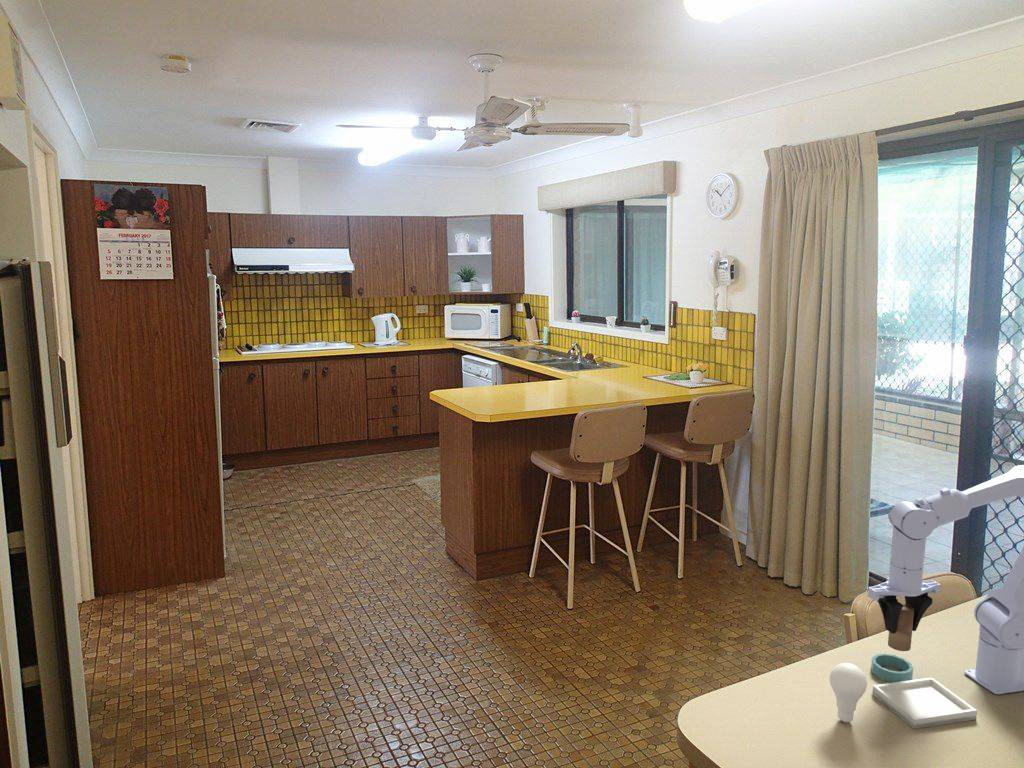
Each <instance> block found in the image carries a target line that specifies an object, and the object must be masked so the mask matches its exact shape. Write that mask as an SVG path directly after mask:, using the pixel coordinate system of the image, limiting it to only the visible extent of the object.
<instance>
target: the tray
mask: <svg viewBox="0 0 1024 768" xmlns="http://www.w3.org/2000/svg"><path fill="white" fill-rule="evenodd" d="M871 694H872V695H873V696H874V697H875V698H877V700H878V701H880V702H881V703H882V704H883V705H885V706H886V707H887V708H888V709H889V710H891V711H892V713H894V714H895V715H897V716H898V717H899V718H900V719H901V720H902V721H904V723H906V724H907V725H909V726H910V728H912V729H914V730H915V729H922V728H928V727H935V726H943V725H949V724H955V723H961V722H967V721H974V720H977V716H978V715H977V714H978V713H977V712H978V710H977V709H976V708H975V707H973V706H972V705H971V704H969V703H968V702H967V701H965V700H964V699H962V697H959V696H958V695H956V694H955V693H954V692H953V691H951V690H950V689H948V687H946V686H944V685H943V684H942V683H940V682H939V681H938V680H936V679H935V678H933V677H926V678H925V677H923V678H919V679H912V680H909V681H902V682H894V683H891V682H887V683H880V684H873V685H872V692H871Z"/></svg>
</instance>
